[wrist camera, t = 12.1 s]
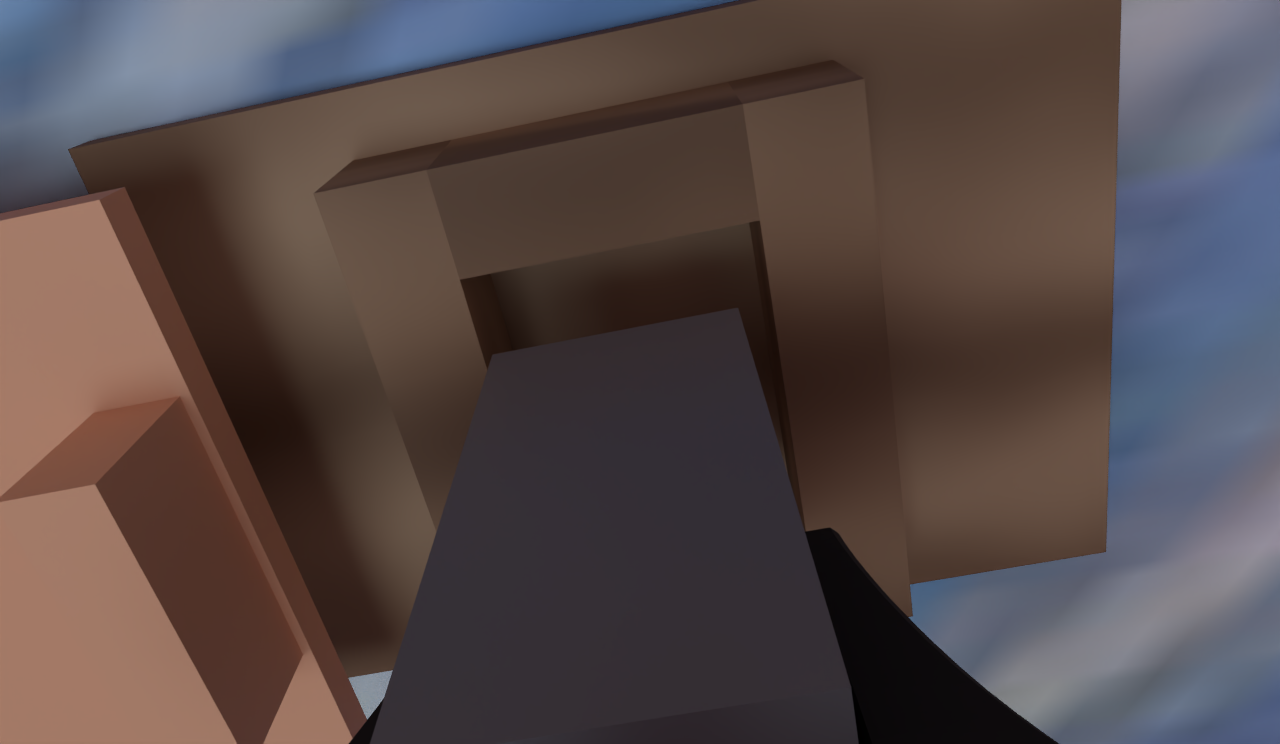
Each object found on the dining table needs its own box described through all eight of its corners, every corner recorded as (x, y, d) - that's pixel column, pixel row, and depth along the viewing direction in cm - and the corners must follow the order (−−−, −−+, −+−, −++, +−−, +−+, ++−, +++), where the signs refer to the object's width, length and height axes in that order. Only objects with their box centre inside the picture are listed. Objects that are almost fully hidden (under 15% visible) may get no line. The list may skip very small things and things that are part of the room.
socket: (1090, 532, 23) (1160, 622, 20) (329, 659, 24) (288, 761, 21) (1102, -79, 17) (1204, -81, 14) (89, 140, 18) (-14, 181, 15)
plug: (786, 601, 17) (905, 1098, 10) (577, 636, 17) (541, 1143, 10) (738, 307, 14) (851, 687, 7) (492, 354, 15) (363, 764, 7)
